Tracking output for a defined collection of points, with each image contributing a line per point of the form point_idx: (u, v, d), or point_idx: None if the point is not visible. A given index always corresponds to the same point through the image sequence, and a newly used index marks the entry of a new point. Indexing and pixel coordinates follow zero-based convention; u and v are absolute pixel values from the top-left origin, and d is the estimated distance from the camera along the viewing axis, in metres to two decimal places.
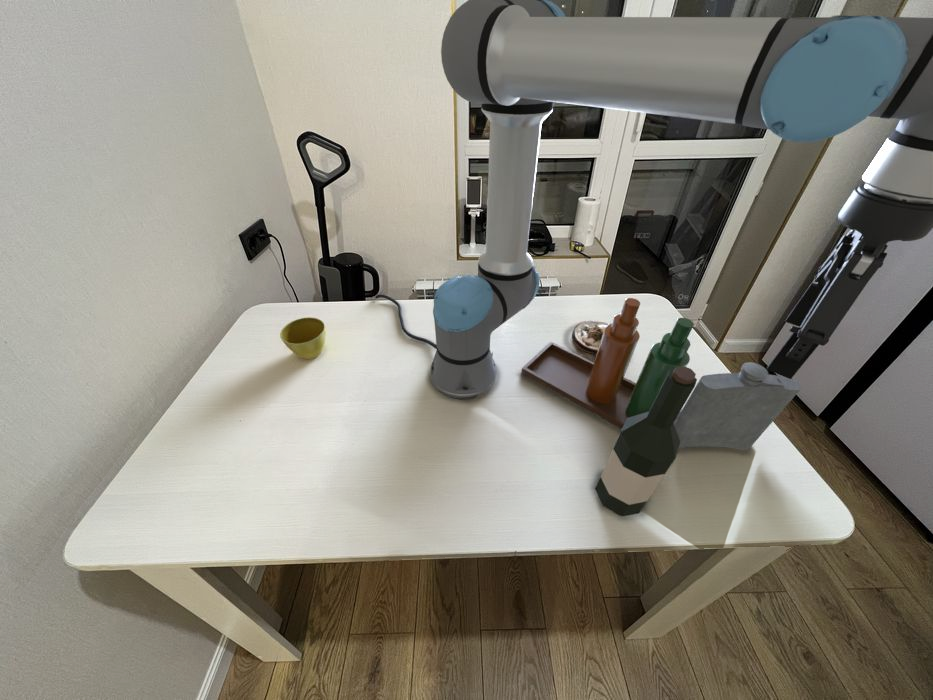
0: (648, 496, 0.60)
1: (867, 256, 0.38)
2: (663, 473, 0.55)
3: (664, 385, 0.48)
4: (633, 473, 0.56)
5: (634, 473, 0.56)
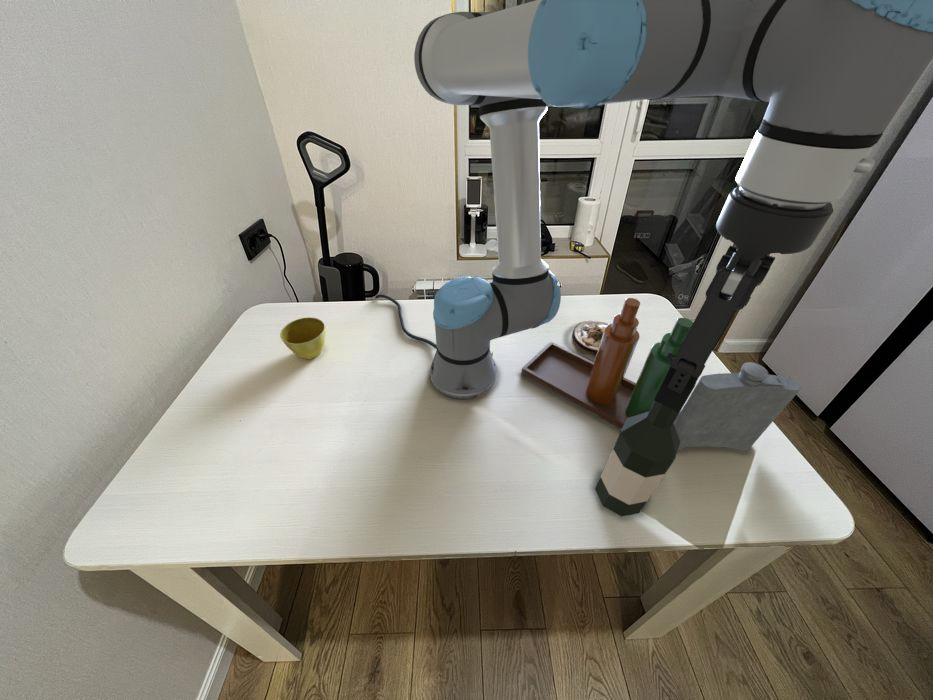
0: (648, 496, 0.60)
1: (736, 273, 0.32)
2: (663, 473, 0.55)
3: None
4: (633, 473, 0.56)
5: (634, 473, 0.56)
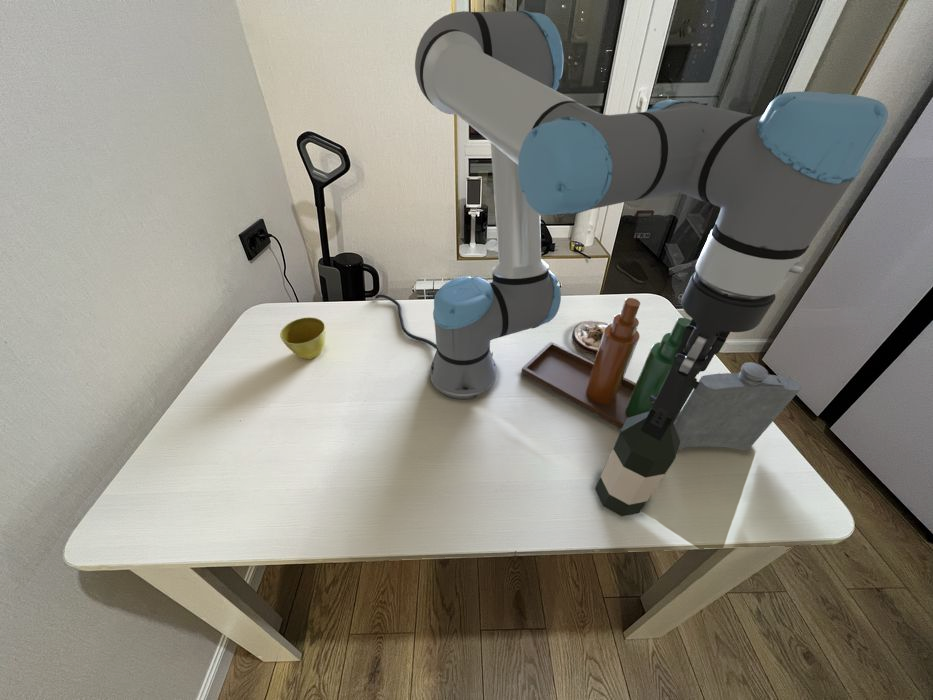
0: (648, 496, 0.60)
1: (687, 362, 0.39)
2: (663, 473, 0.55)
3: None
4: (633, 473, 0.56)
5: (634, 473, 0.56)
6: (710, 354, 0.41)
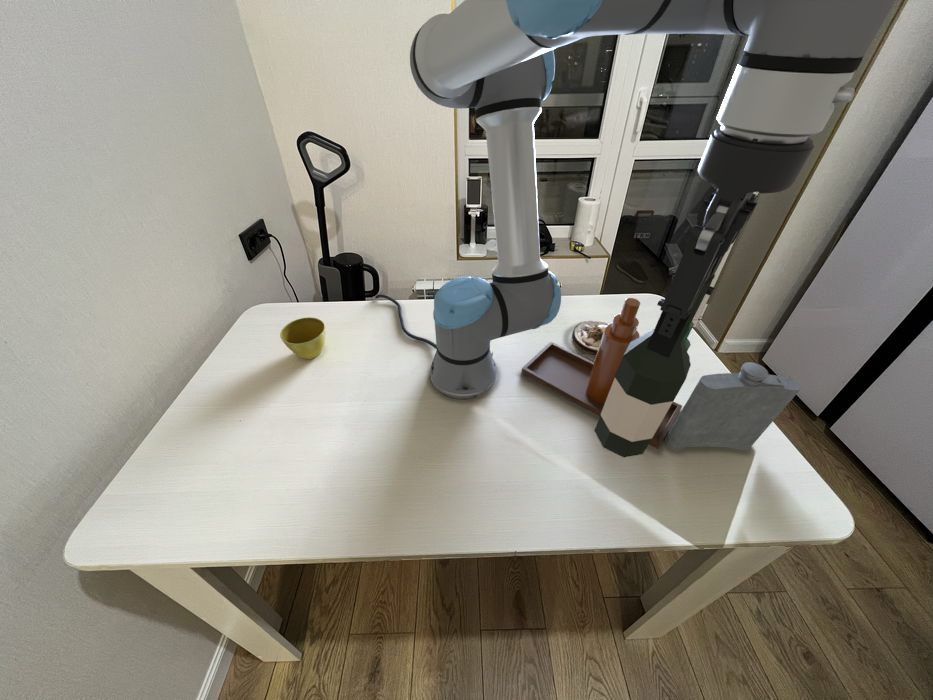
0: (653, 431, 0.54)
1: (706, 232, 0.32)
2: (671, 400, 0.49)
3: None
4: (637, 401, 0.50)
5: (638, 401, 0.50)
6: (731, 232, 0.35)
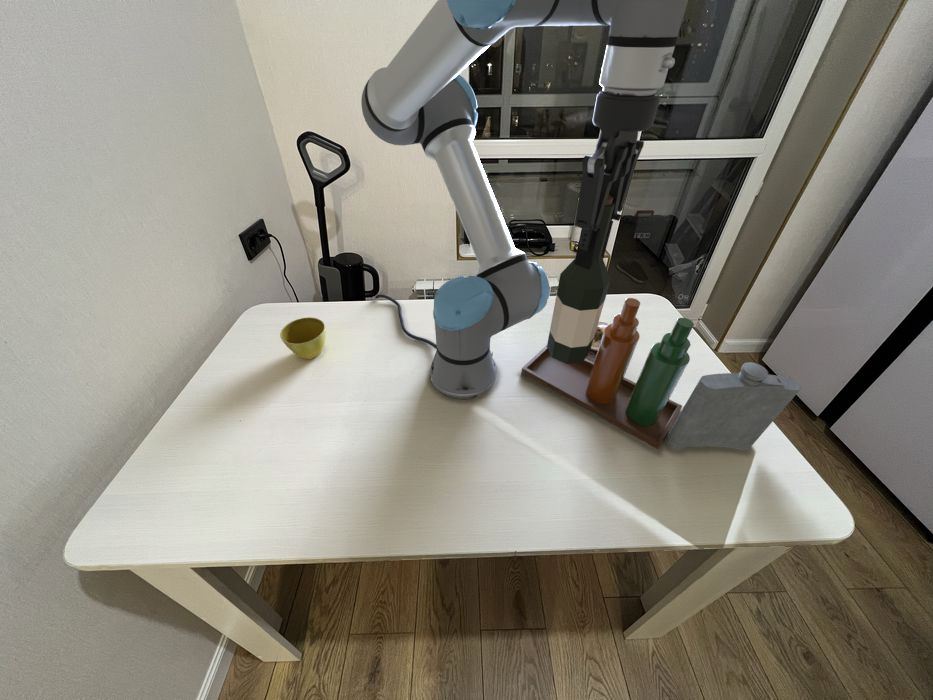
0: (587, 339, 0.69)
1: (591, 159, 0.47)
2: (596, 308, 0.64)
3: None
4: (570, 309, 0.65)
5: (571, 309, 0.65)
6: (615, 163, 0.50)
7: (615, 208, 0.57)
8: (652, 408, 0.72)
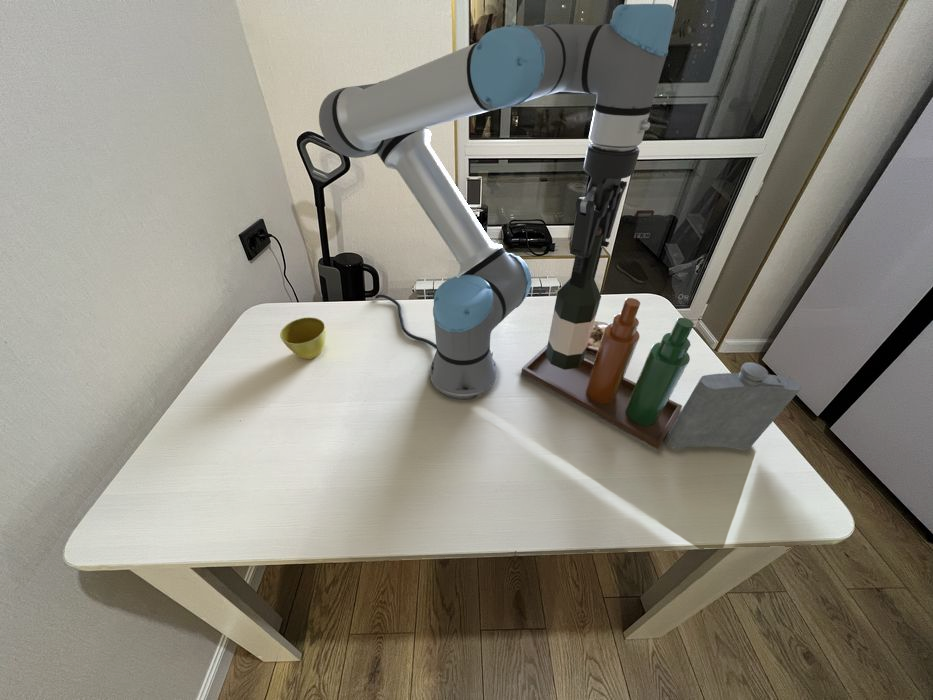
0: (582, 347, 0.78)
1: (583, 201, 0.57)
2: (589, 321, 0.73)
3: None
4: (567, 322, 0.74)
5: (567, 322, 0.74)
6: (603, 202, 0.59)
7: (604, 237, 0.67)
8: (652, 408, 0.72)
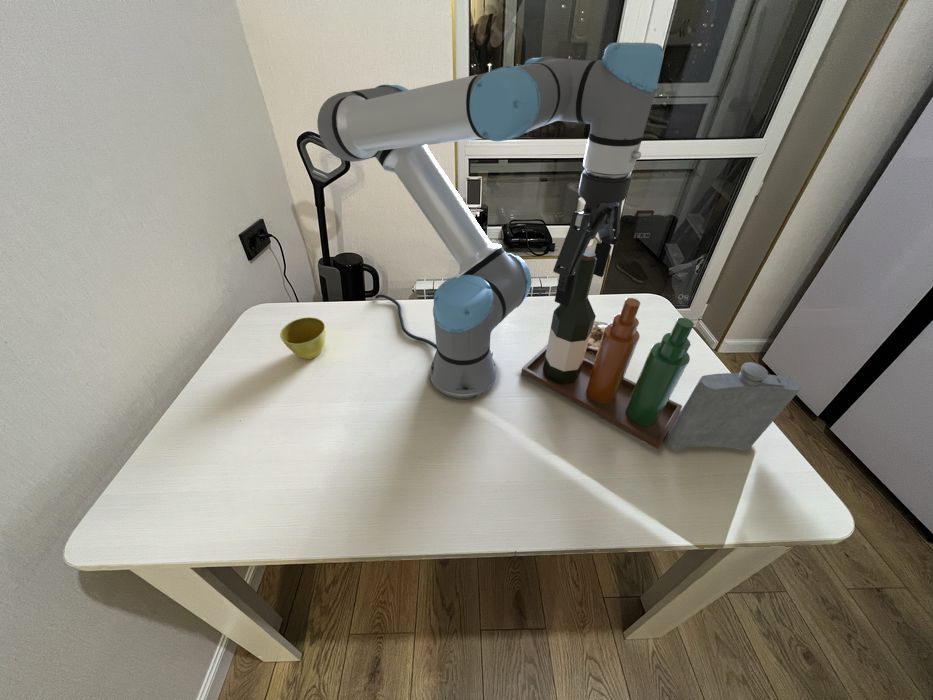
0: (577, 364, 0.81)
1: (580, 213, 0.58)
2: (584, 339, 0.77)
3: None
4: (563, 340, 0.77)
5: (563, 340, 0.77)
6: None
7: (611, 239, 0.70)
8: (652, 408, 0.72)
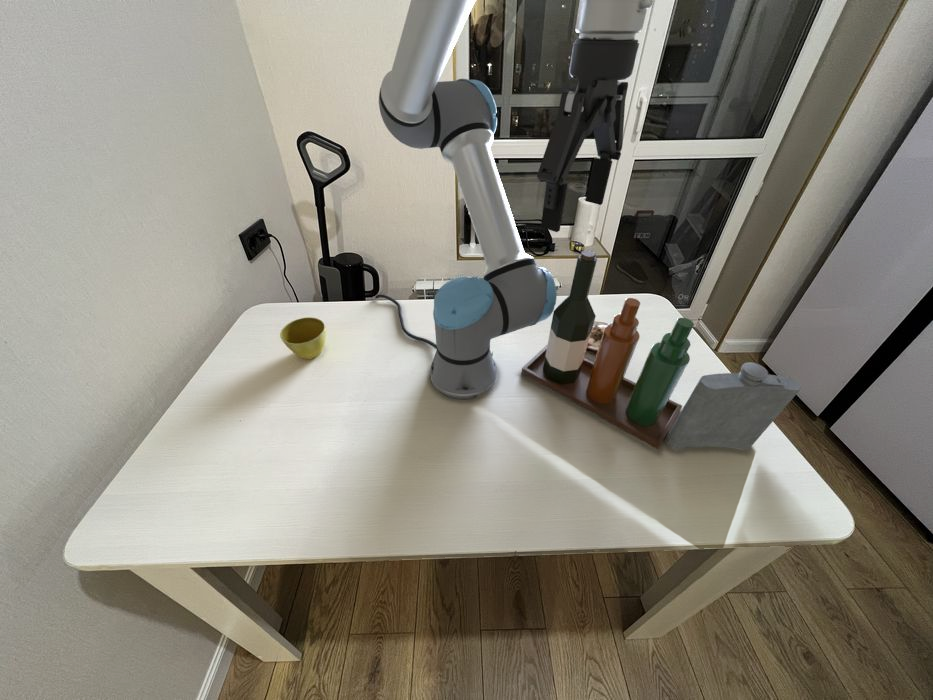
0: (577, 364, 0.81)
1: (572, 92, 0.44)
2: (584, 339, 0.77)
3: (576, 265, 0.69)
4: (563, 340, 0.77)
5: (563, 340, 0.77)
6: None
7: (612, 150, 0.56)
8: (652, 408, 0.72)
